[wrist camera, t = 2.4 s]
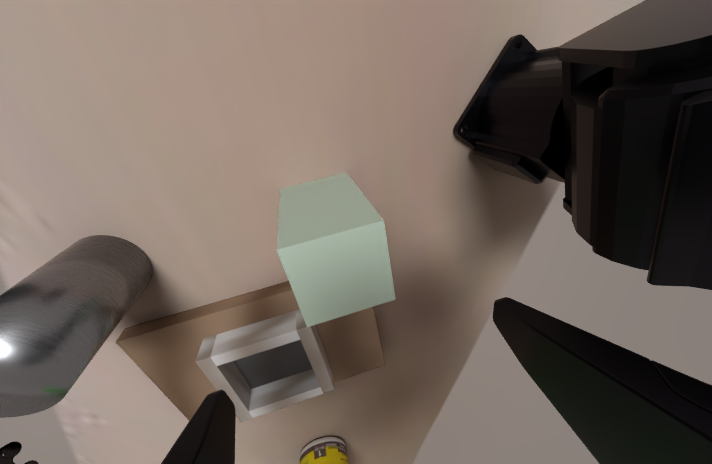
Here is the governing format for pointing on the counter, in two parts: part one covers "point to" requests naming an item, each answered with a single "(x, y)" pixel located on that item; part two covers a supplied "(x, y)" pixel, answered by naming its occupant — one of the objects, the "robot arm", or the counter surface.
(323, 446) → the supplement bottle
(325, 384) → the bore board
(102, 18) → the counter surface
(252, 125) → the counter surface
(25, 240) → the counter surface
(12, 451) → the valve
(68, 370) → the round peg
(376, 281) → the square peg
